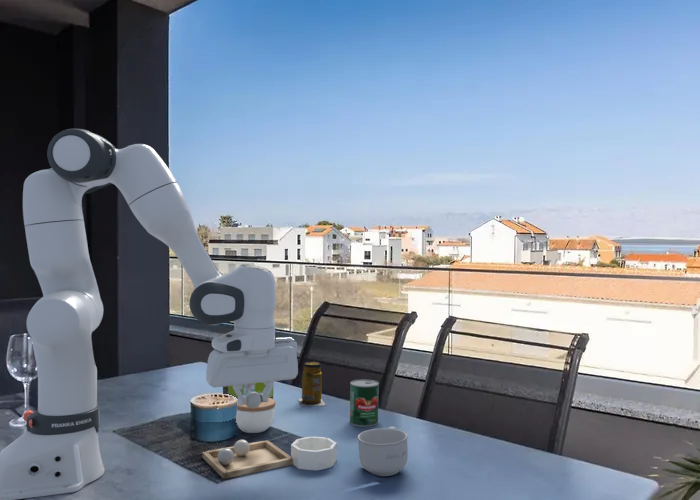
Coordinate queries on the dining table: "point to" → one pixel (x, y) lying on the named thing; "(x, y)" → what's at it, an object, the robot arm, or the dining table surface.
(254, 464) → the tray
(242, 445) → the pebble
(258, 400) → the light grey sphere
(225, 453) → the pebble
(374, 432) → the teacup
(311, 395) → the condiment
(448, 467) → the dining table surface
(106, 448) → the dining table surface
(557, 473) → the dining table surface
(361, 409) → the canned tomato
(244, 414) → the lidded jar
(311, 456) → the bowl
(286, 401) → the dining table surface
